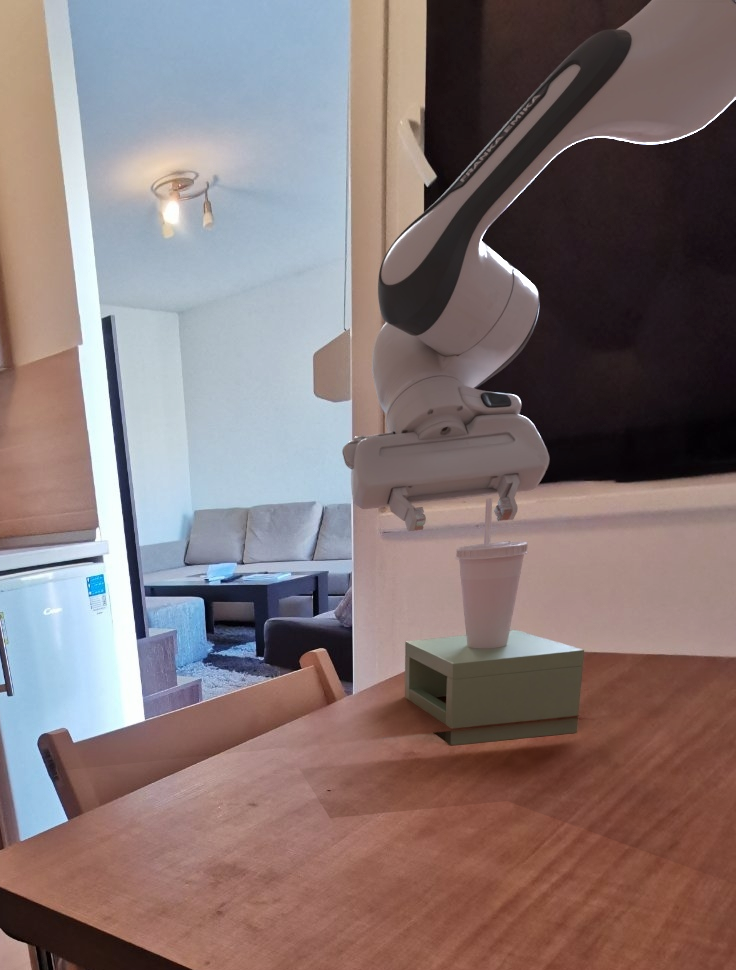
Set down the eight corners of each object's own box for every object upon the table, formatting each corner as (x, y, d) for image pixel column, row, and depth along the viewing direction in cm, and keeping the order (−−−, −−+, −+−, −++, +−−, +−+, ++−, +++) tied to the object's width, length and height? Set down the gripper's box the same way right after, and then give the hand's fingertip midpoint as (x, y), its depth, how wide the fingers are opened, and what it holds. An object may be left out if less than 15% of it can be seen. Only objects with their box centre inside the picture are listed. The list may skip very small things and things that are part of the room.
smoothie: (439, 646, 79) (442, 503, 74) (487, 637, 81) (494, 496, 76) (486, 653, 73) (493, 498, 69) (537, 643, 75) (547, 491, 70)
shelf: (511, 700, 86) (515, 629, 83) (576, 733, 73) (584, 649, 70) (404, 711, 87) (405, 641, 84) (450, 745, 74) (453, 663, 71)
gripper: (343, 416, 83) (368, 509, 77) (533, 393, 82) (573, 486, 76) (334, 463, 89) (357, 553, 83) (512, 442, 88) (548, 532, 82)
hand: (462, 521), depth 80 cm, fingers open, 8 cm apart
